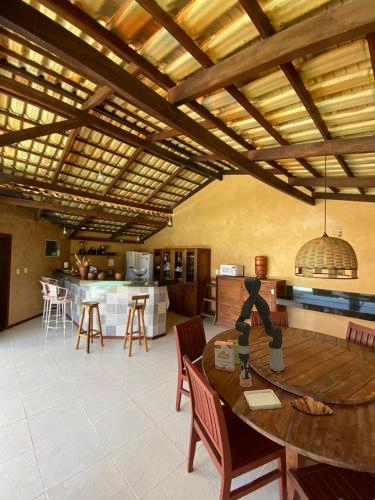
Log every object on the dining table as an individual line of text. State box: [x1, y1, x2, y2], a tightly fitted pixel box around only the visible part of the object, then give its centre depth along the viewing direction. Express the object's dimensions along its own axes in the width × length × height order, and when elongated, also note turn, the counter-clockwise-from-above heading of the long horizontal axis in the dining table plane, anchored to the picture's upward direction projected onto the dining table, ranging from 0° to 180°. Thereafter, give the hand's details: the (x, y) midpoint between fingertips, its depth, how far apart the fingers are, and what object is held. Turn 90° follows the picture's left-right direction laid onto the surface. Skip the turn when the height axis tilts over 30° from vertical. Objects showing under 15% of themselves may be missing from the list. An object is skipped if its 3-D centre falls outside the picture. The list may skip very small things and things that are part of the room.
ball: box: [240, 369, 250, 378], centre depth 157 cm, size 6×6×6 cm
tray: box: [243, 388, 283, 411], centre depth 138 cm, size 18×14×2 cm
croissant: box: [290, 395, 334, 416], centre depth 129 cm, size 21×10×8 cm, turn 67°
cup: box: [239, 373, 253, 388], centre depth 157 cm, size 8×8×5 cm
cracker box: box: [213, 340, 236, 373], centre depth 178 cm, size 14×6×21 cm, turn 65°
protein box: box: [227, 339, 241, 365], centre depth 190 cm, size 10×15×16 cm
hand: (245, 374), depth 157 cm, fingers open, 8 cm apart
